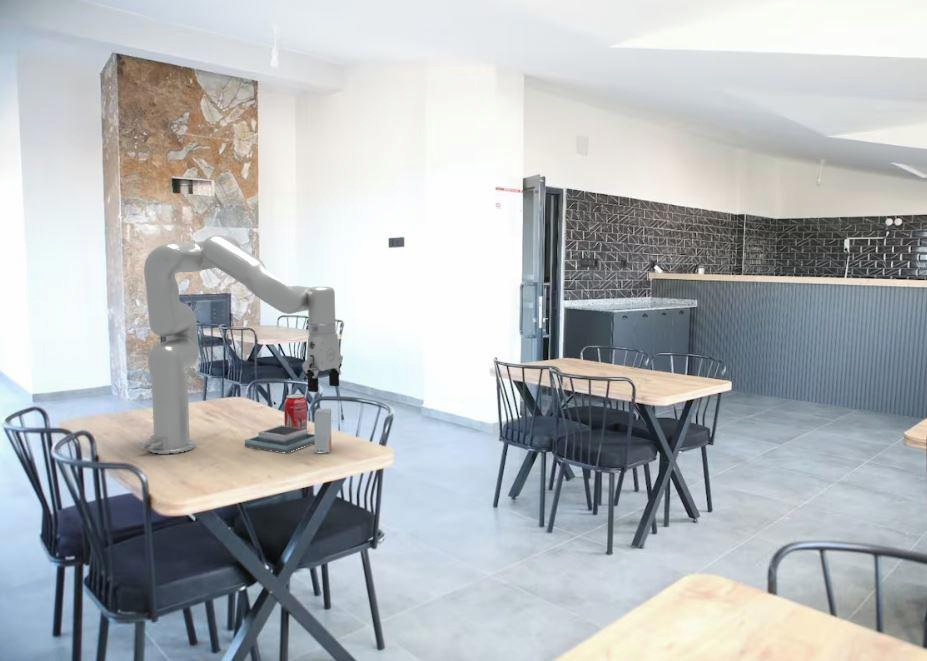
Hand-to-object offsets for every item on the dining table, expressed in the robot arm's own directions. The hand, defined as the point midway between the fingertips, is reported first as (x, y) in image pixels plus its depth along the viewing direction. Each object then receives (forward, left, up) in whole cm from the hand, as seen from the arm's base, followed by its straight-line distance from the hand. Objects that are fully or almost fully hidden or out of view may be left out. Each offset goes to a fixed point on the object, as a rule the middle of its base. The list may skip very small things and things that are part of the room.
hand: (324, 388), depth 194 cm
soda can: (+13, +21, -19) cm, 31 cm away
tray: (0, +15, -18) cm, 24 cm away
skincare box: (0, 0, -19) cm, 19 cm away
